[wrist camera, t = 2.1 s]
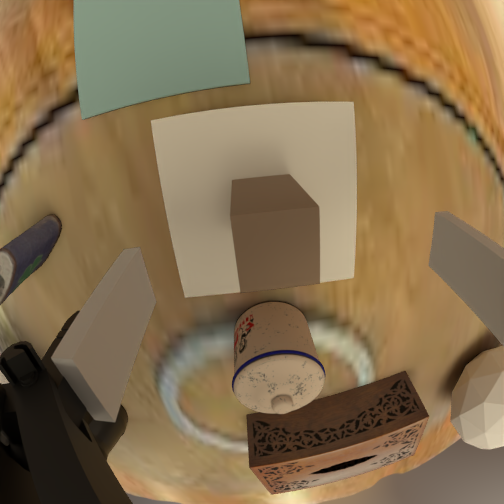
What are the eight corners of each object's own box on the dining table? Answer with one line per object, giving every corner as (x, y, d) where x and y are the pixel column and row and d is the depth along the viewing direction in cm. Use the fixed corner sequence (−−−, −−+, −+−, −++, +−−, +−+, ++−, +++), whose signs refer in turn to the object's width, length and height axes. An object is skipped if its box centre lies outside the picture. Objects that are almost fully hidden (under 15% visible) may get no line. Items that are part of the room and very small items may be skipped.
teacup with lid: (234, 296, 33) (235, 376, 22) (315, 299, 34) (344, 375, 23) (229, 371, 38) (229, 446, 27) (297, 372, 39) (312, 444, 28)
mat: (84, 119, 24) (82, 119, 23) (76, -14, 17) (74, -15, 17) (249, 83, 24) (250, 82, 23) (230, -54, 17) (230, -57, 17)
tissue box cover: (267, 450, 49) (271, 494, 40) (246, 413, 43) (249, 467, 34) (397, 414, 47) (414, 454, 38) (404, 369, 41) (429, 416, 32)
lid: (186, 289, 25) (168, 368, 17) (155, 120, 20) (103, 124, 11) (349, 271, 26) (392, 339, 17) (347, 102, 20) (413, 99, 11)
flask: (51, 208, 27) (-14, 254, 17) (69, 228, 29) (9, 282, 18) (18, 260, 30) (-35, 311, 19) (34, 278, 31) (-15, 333, 20)
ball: (442, 362, 51) (421, 451, 39) (494, 308, 37) (486, 423, 25) (504, 382, 45) (491, 464, 33) (559, 336, 30) (559, 437, 18)
